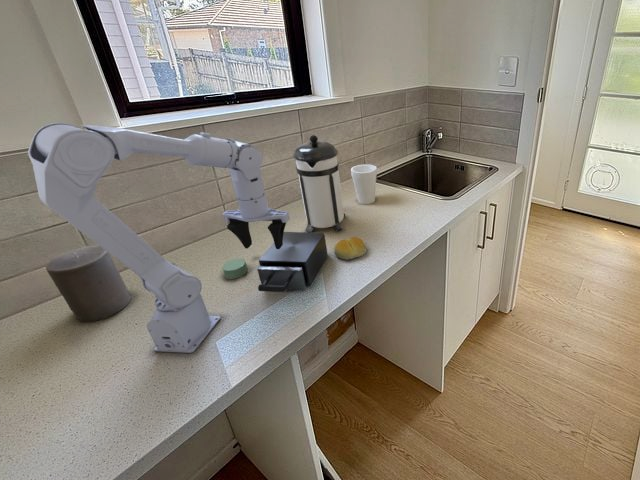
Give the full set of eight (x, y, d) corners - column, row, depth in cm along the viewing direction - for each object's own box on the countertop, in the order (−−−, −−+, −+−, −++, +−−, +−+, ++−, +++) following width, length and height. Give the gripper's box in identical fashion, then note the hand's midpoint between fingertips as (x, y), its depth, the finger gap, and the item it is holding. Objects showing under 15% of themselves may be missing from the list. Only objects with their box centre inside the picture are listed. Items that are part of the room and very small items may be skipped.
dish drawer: (296, 303, 76) (292, 283, 74) (252, 301, 77) (246, 281, 74) (321, 259, 92) (318, 241, 89) (284, 258, 92) (280, 240, 90)
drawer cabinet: (310, 287, 83) (305, 261, 80) (265, 285, 84) (258, 260, 80) (327, 255, 95) (324, 232, 92) (288, 254, 96) (283, 231, 92)
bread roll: (332, 248, 98) (330, 237, 96) (362, 242, 102) (360, 230, 100) (337, 264, 92) (336, 251, 90) (369, 256, 95) (368, 244, 93)
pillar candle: (72, 329, 71) (35, 272, 64) (80, 303, 78) (47, 249, 71) (131, 309, 76) (102, 255, 69) (133, 287, 83) (107, 235, 76)
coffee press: (360, 222, 112) (352, 134, 99) (318, 241, 102) (302, 145, 89) (332, 207, 123) (321, 125, 110) (291, 222, 113) (273, 134, 99)
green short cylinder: (240, 279, 86) (238, 270, 85) (220, 278, 86) (217, 270, 85) (251, 266, 91) (249, 258, 89) (232, 265, 91) (229, 257, 90)
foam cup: (383, 199, 129) (381, 167, 124) (368, 208, 122) (365, 174, 117) (365, 193, 134) (362, 162, 128) (349, 202, 127) (345, 169, 121)
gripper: (290, 188, 78) (299, 238, 84) (229, 187, 78) (243, 237, 85) (276, 201, 72) (288, 254, 78) (211, 200, 72) (227, 252, 78)
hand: (264, 246), depth 81 cm, fingers open, 7 cm apart
